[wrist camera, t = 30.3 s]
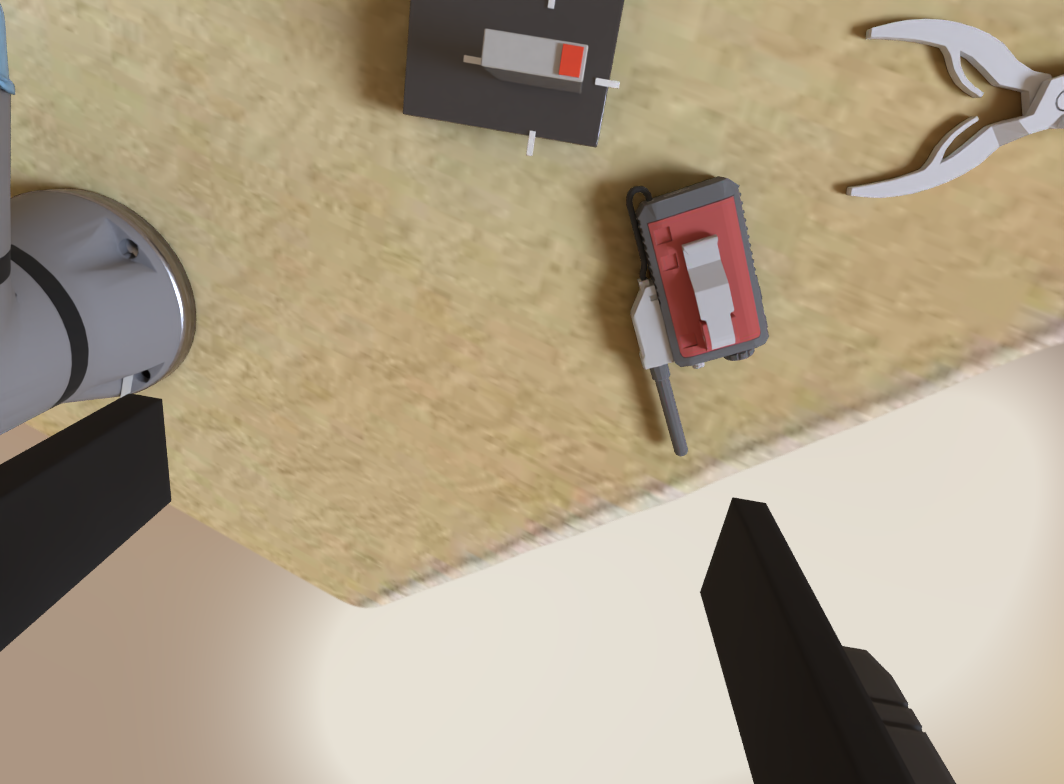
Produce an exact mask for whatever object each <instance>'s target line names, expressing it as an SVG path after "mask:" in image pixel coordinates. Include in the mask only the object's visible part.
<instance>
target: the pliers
mask: <svg viewBox="0 0 1064 784" xmlns="http://www.w3.org/2000/svg"><path fill="white" fill-rule="evenodd" d="M866 39H885V40H899V41H910V42H916V43H921V44H926V45H930V46H934V47H938V48H939V49H940V50H941V52H942V54H943V55H944V58H945V62H946V66H947V70H948V73H949V74H950V76H951V78H952V80H953V81H954V83H955V84H956V85H957V86H958V87H959V88H960V89H961V90H963V91H964V92H965V93H967V94H968V95H970V96H971V97H973V98H980V97H982V95H983V94H984V93H983V92H982V91H980V90H979V89H978V88H976V87H975V86H974V85H973V84H972V83H971V82H970V81H969V80H968V79H967V78H966V77H965V75H964V72H963V70H962V68H961V63H960V56H961V57H963V58H965V59H967V60H968V61H969V62H970V63H971V64H972V65H973V66H974V67H975V68H976V69H977V70H978V71H979V72H980V73H981V74H982V75H983V76H984V77H985V78H986V80H987V81H988V82H989V83H990V84H991V85H992V86H996V87H1001V88H1005V89H1010V90H1015V91H1019V92H1021V100H1022V113H1023V116H1021V117H1016V118H1012V119H1007V120H1003V121H999V122H996V123H993V124H990V125H987V126H984V127H983V128H982V129H981V130H979V131H978V132H977V133H976V134H975V135H973V136H972V137H971V138H970V139H969V140H968V141H966V142H965V143H964V144H963V145H962V146H960V147H959V148H958V149H956V150H955V151H954V152H953V153H951V154H950V155H949V156H947V157H945V158H943V155H944V153H945V150H946V149H947V147H948V146H949V145H950V143H951V142H952V141H953V140H954V138H955V137H956V136H958V135H959V134H960V133H961V132H963V131H964V130H965V129H966V128H968V127H969V126H971V125H972V124H974V123H975V122H977V121H978V120H979V119H978V116H974V117H969V118H968V119H966V120H965V121H963V122H961V123H960V124H958V125H957V126H956V127H954V128H953V129H952V130H950V131H949V132H948V133H947V134H945V136H944V137H943V138H942V139H941V140H940V141H939V143H938V144H937V145H936V146H935V147H934V149H933V151H932V152H931V154H930V156H929V157H928V159H927V161H926V162H925V163H924V165H923V166H922V167H921V168H920V169H919V170H917V171H914V172H911V173H908V174H905V175H902V176H899V177H896V178H892V179H888V180H884V181H879V182H874V183H869V184H865V185H859V186H852V187H847V194H846V195H850V196H859V197H875V198H884V197H895V196H902V195H907V194H912V193H916V192H920V191H923V190H927V189H930V188H933V187H935V186H938V185H941V184H943V183H946V182H948V181H950V180H952V179H955V178H957V177H959V176H961V175H963V174H965V173H966V172H968V171H969V170H971V169H973V168H974V167H976V166H978V165H979V164H980V163H982V162H983V161H984V160H985V159H986V158H987V157H988V156H989V155H991V154H992V153H993V152H994V151H995V150H996V149H997V148H999V147H1000V146H1002V145H1005V144H1007V143H1009V142H1012V141H1014V140H1017V139H1019V138H1021V137H1024V136H1026V135H1029V134H1031V133H1035V132H1038V131H1041V130H1045V129H1064V74H1063V75H1060V76H1057V77H1054V78H1052V77H1051V75H1050V74H1046V73H1041V72H1036V71H1033V70H1031V69H1030V68H1028V67H1027V66H1025V65H1024V64H1022V63H1021V62H1019V61H1018V60H1017V59H1016V58H1015V57H1014V55H1013V54H1012V53H1011V52H1010V51H1009V49H1008V48H1007V47H1006V46H1005V44H1004V43H1002V42H1001V41H999V40H998V39H996V38H995V37H993V36H992V35H991V34H989V33H986V32H984V31H982V30H980V29H977V28H975V27H972V26H968V25H965V24H961V23H957V22H952V21H947V20H938V19H914V20H904V21H899V22H894V23H889V24H885V25H881V26H877V27H874V28H871V29H868V30H867V32H866ZM942 158H943V159H942Z"/></svg>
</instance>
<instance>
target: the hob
mask: <svg viewBox="0 0 1064 784" xmlns="http://www.w3.org/2000/svg"><path fill="white" fill-rule="evenodd" d="M623 5H624V0H410V14H409V29H408V44H407V59H406V74H405V89H404V104H403V114H405V115H411V116H416V117H422V118H428V119H434V120H439V121H445V122H451V123H457V124H463V125H468V126H474V127H480V128H486V129H492V130H497V131H503V132H509V133H515V134H521V135H526V136H529V140H528V147H527V154H526V155H529V156H532V154H533V147H534V141H535V137H538V138H544V139H550V140H555V141H561V142H567V143H573V144H579V145H585V146H590V147H597V145H598V139H599V134H600V128H601V123H602V118H603V112H604V107H605V102H606V96H607V91H608V87H611V88H617V89H618V88H619V83H620V82H618V81H612V80H610V75H611V69H612V64H613V59H614V53H615V48H616V42H617V37H618V32H619V26H620V21H621V16H622V10H623ZM486 28H488V29H494V30H500V31H506V32H512V33H518V34H524V35H531V36H537V37H543V38H549V39H555V40H561V41H567V42H573V43H580V44H586V45H588V54H587V61H586V68H585V74H584V80H583V86H582V92H581V93H580V94H579V93H573V92H567V91H561V90H554V89H548V88H542V87H536V86H530V85H524V84H518V83H512V82H506V81H499V80H498V79H496V78H495V77H494V76H493V75H492V74H491V73H489V72H488V71H487V70H486V69H485V68H484V67H482V66H481V56H482V46H483V37H484V30H485V29H486Z"/></svg>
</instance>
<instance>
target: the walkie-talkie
mask: <svg viewBox="0 0 1064 784" xmlns="http://www.w3.org/2000/svg"><path fill="white" fill-rule="evenodd" d="M738 188H739V185H737V184H736V183H734V182H733V181H731V180H730V179H728V178H724V177H719V176H718V177H715V178H712V179H709V180H706V181H703V182H700V183H697V184H694V185H691V186H688V187H685V188H682V189H679V190H676V191H673V192H670V193H667V194H664V195H661V196H658V197H655V198H652V196H651V193H650V192H649V190H648V189H647V188H645V187H643V186H634V187H633V188H631V189H630V190H629V192H628V194H627V199H626V205H627V209H628V212H629V216H630V220H631V224H632V228H633V231H634V235H635V239H636V243H637V246H638V251H639V255H640V259H641V269H640V278H639V279H638V283H639V287H640V289H639V292H638V294H637V297H636V299H635V302H634V304H633V306H632V309H631V312H630V314H631V318H632V322H633V325H634V329H635V333H636V337H637V340H638V344H639V348H640V352H639V355H640V359H641V362H642V365H643V368H644V369H649V368H650V372H651V375H652V379H653V380H655V382H656V386H657V390H658V393H659V397H660V401H661V404H662V408H663V412H664V415H665V419H666V423H667V426H668V430H669V434H670V437H671V441H672V445H673V448H674V452H675V453H676V455H678V456H684V455H686V454H687V452H688V448H687V444H686V440H685V436H684V433H683V429H682V425H681V421H680V418H679V414H678V410H677V406H676V403H675V399H674V395H673V391H672V388H671V384H670V380H669V376H670V372H669V368H668V364H667V363H671V362H675V363H676V364H677V365H679V366H680V367H684V366H693V368H695V369H698V368H701V367H703V366H704V362H706V361H710V360H714V359H717V358H721V357H724V358H725V359H727V360H730V361H735V360H742V359H745V358H748V357H750V356H751V355H752V354H753V353H754V348H757V347H759V346H761V345H763V344H765V343H766V341H767V339H768V337H769V335H768V330H767V327H768V326H767V321H766V316H765V315H764V310H763V304H762V295H761V290H760V286H759V284H758V279H757V275H755V270H756V269H755V267H754V266H753V263H754V260H753V259H752V254H753V253H752V251H751V250H750V246H751V244H750V243H749V240H748V239H749V235H747V230H748V228H747V227H746V225H745V222H746V219H745V218H744V215H743V214H744V213H745V212H744V210H742V204H743V202H742V201H741V199H740V196H741V193H739V189H738ZM639 192H641V193H643V194H644V196H645V198H646V201H643V202H641V203H640V205H639V207H638V209H637V211H636V213H635V211H634V207H633V196H634V194H635V193H639ZM636 218H637V219H636ZM638 226H639V227H638ZM644 249H645V250H644ZM647 263H648V265H649V267H648V269H649V271H650V273H651V274H650V277H651V279H652V280H653V281H652V280H651V279H649V280H648V278H647V276H646V271H647Z"/></svg>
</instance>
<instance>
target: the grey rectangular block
mask: <svg viewBox="0 0 1064 784" xmlns="http://www.w3.org/2000/svg"><path fill="white" fill-rule="evenodd" d="M587 54H588V45H586V44H580V43H573V42H567V41H561V40H555V39H549V38H543V37H537V36H531V35H524V34H518V33H512V32H506V31H500V30H494V29H488V28H486V29H485V30H484V37H483V46H482V56H481V66H482V67H484V68H485V69H486V70H487V71H488V72H489V73H491V74H492V75H493V76H494V77H495V78H496V79H498V80H499V81H506V82H512V83H518V84H524V85H530V86H536V87H542V88H548V89H554V90H561V91H567V92H573V93H579V94H580V93H581V92H582V86H583V80H584V74H585V68H586V61H587Z"/></svg>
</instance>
